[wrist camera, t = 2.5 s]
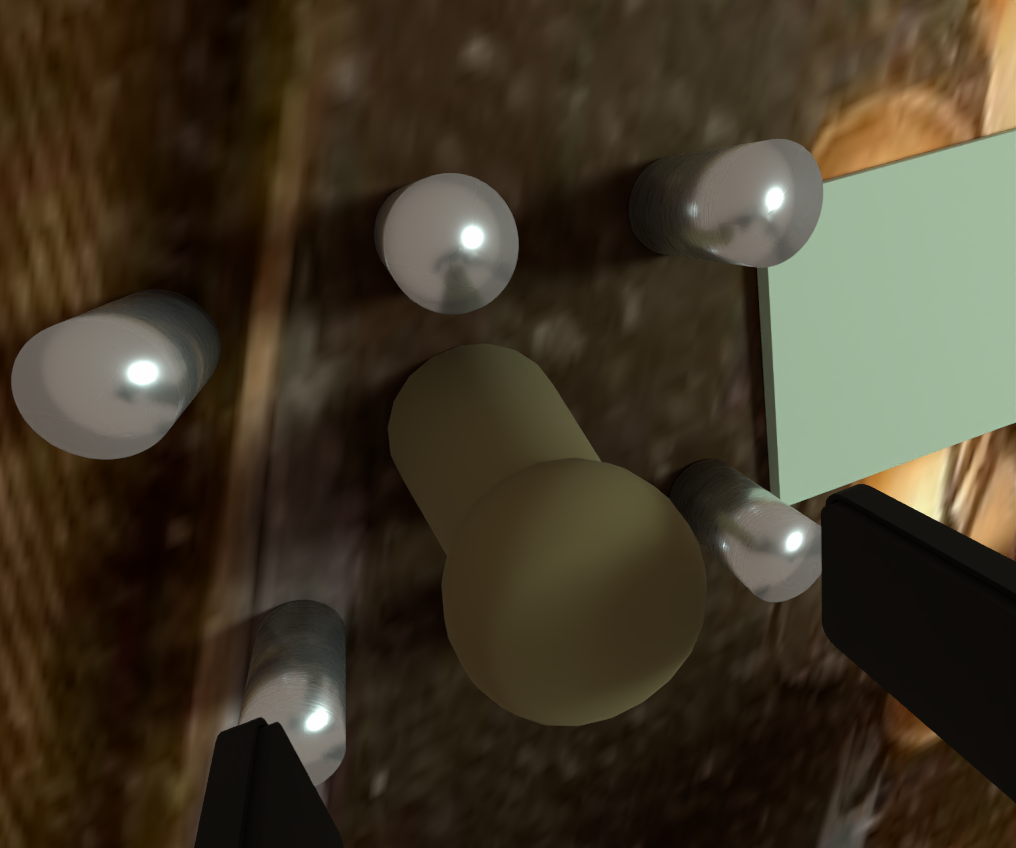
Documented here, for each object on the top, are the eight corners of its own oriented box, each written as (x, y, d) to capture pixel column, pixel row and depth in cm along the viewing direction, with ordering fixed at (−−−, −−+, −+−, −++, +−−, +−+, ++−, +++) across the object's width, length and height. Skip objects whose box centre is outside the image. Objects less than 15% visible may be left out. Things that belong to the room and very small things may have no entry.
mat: (1040, 120, 22) (1058, 118, 21) (1007, 415, 26) (1021, 420, 26) (752, 200, 20) (764, 199, 19) (771, 501, 25) (780, 508, 24)
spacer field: (704, 111, 19) (821, 80, 14) (740, 533, 25) (829, 606, 20) (63, 269, 16) (-51, 294, 11) (284, 702, 22) (269, 831, 17)
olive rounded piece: (365, 368, 19) (391, 554, 9) (547, 324, 20) (759, 444, 10) (412, 530, 21) (475, 826, 11) (572, 483, 22) (765, 714, 12)
